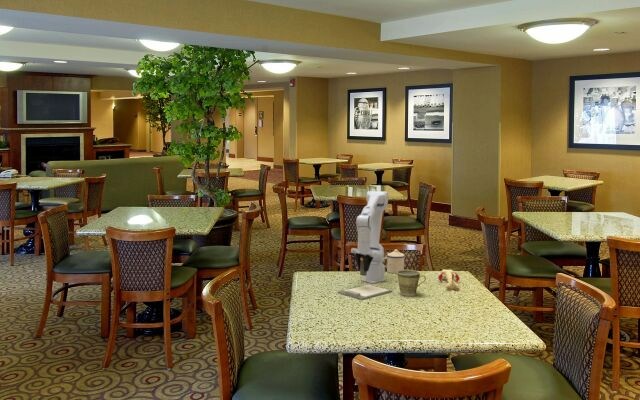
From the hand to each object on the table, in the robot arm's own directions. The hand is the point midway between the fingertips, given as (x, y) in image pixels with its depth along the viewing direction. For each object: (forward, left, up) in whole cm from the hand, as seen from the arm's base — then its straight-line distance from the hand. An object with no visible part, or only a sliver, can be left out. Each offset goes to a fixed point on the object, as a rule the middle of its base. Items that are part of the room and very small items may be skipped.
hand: (363, 270), depth 274 cm
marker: (0, 0, -2) cm, 2 cm away
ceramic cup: (-10, +20, -9) cm, 24 cm away
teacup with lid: (-37, -14, -9) cm, 41 cm away
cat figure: (-39, +20, -9) cm, 45 cm away
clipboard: (+3, +4, -9) cm, 10 cm away
